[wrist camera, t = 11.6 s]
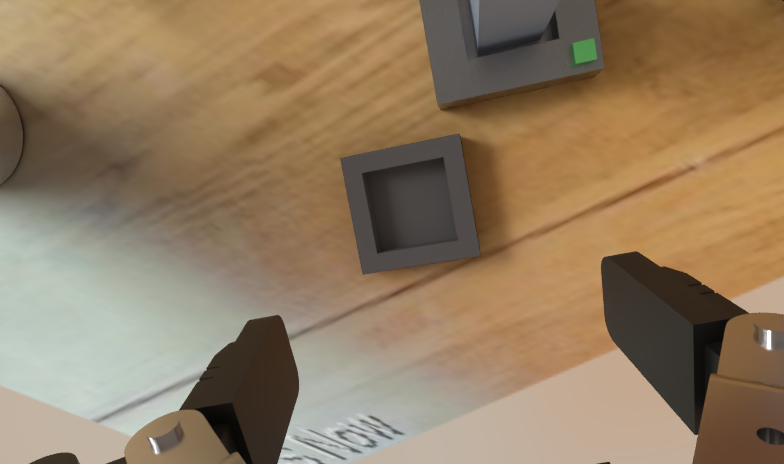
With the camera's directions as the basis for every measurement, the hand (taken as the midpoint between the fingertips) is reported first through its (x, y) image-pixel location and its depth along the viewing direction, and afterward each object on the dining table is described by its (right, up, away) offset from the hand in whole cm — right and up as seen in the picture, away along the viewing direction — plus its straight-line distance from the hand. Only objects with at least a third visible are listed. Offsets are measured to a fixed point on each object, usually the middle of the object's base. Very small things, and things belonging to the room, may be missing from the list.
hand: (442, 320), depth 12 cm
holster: (0, +4, +22) cm, 22 cm away
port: (+6, +16, +19) cm, 26 cm away
